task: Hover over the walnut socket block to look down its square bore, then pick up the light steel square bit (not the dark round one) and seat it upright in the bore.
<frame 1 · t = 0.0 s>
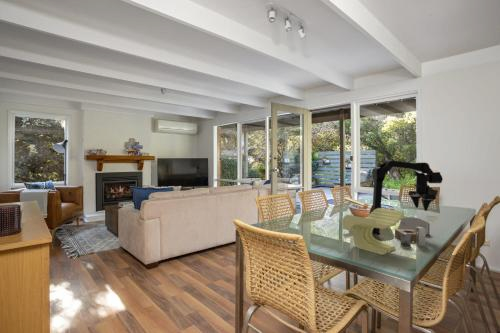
hand: (421, 209, 161), 15 cm above the table, tool pointing down, fingers open, 9 cm apart
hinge: (413, 232, 164), on the table
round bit: (405, 244, 139), on the table
slatted curved stool: (373, 247, 135), on the table
square bit: (420, 244, 140), on the table
socket block: (408, 238, 150), on the table
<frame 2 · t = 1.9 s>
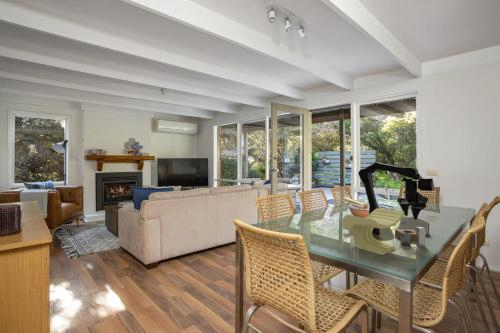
hand: (410, 217, 148), 12 cm above the table, tool pointing down, fingers open, 9 cm apart
nothing on the table moved.
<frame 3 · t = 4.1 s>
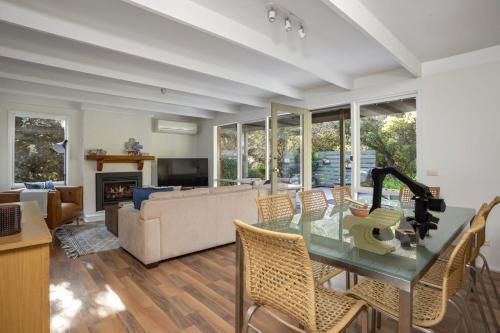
hand: (420, 238, 140), 3 cm above the table, tool pointing down, fingers closed on square bit, 3 cm apart
square bit: (420, 244, 140), on the table, touching gripper
everything else where it was.
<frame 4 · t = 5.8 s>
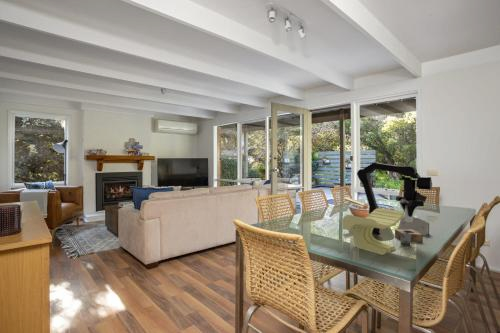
hand: (408, 216, 149), 13 cm above the table, tool pointing down, fingers closed on square bit, 3 cm apart
square bit: (408, 221, 149), point 10 cm above the table, touching gripper
everything else where it was.
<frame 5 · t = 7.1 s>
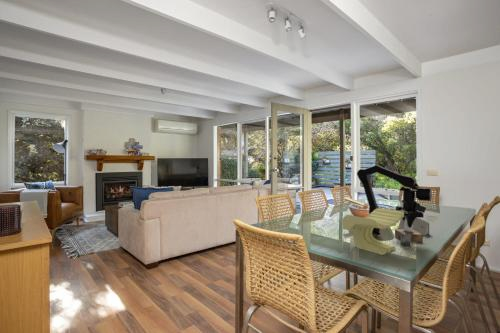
hand: (408, 226, 150), 7 cm above the table, tool pointing down, fingers closed on square bit, 3 cm apart
square bit: (408, 232, 150), point 4 cm above the table, touching gripper
everything else where it was.
when the fingers open (5 cm above the table, at t = 7.8 s): square bit drops 2 cm, resting in socket block.
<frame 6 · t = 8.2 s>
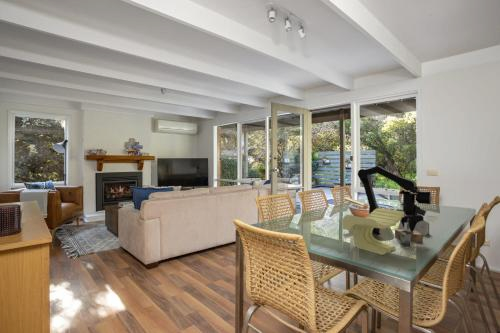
hand: (408, 230, 150), 5 cm above the table, tool pointing down, fingers open, 7 cm apart
square bit: (408, 238, 150), resting in socket block
everything else where it was.
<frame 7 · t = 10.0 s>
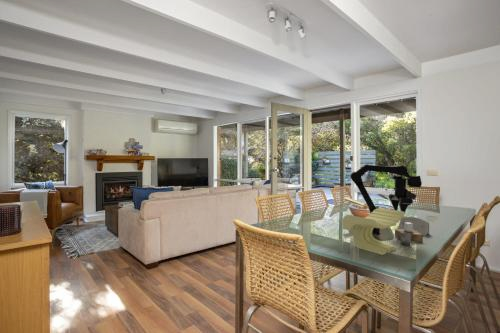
hand: (399, 212, 158), 13 cm above the table, tool pointing down, fingers open, 9 cm apart
nothing on the table moved.
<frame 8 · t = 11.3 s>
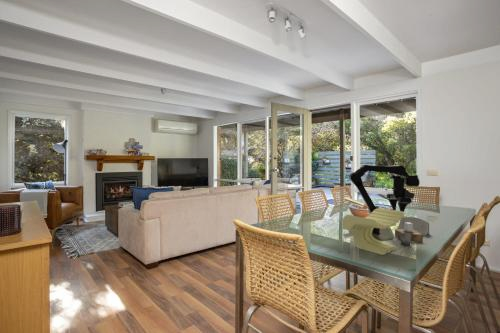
hand: (398, 212, 160), 13 cm above the table, tool pointing down, fingers open, 9 cm apart
nothing on the table moved.
at the end: square bit 0.0 cm off-centre on the socket block, point 0.0 cm above the socket block's base; square bit tilted 0°; the gripper is holding nothing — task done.
